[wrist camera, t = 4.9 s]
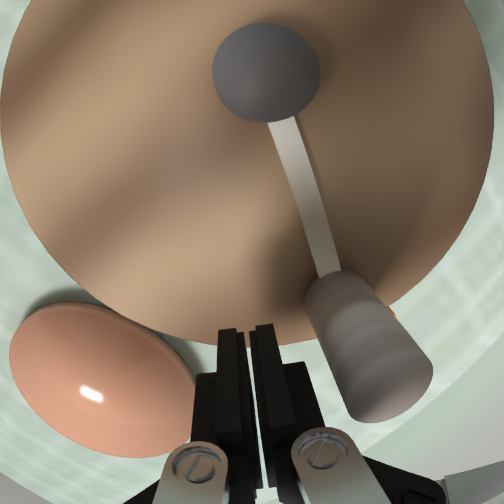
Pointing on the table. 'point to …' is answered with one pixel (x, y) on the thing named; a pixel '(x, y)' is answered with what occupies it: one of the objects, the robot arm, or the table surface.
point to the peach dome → (103, 380)
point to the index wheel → (254, 165)
